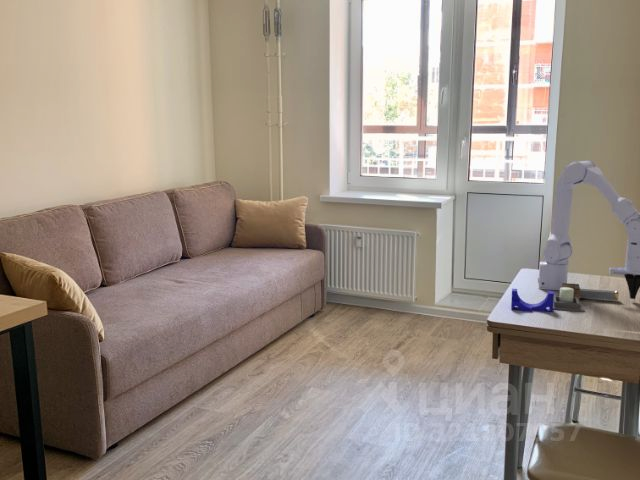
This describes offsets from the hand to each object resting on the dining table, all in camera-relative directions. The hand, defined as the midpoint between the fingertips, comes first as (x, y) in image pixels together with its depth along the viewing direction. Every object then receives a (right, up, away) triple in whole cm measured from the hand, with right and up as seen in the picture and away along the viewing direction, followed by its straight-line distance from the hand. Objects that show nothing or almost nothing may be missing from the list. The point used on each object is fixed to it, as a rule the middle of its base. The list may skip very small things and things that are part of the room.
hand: (632, 297), depth 211 cm
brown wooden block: (-18, 0, +5) cm, 18 cm away
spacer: (-22, -2, -4) cm, 23 cm away
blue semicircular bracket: (-34, -3, -8) cm, 35 cm away
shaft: (-11, -1, +3) cm, 11 cm away
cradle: (-22, -2, -4) cm, 23 cm away
